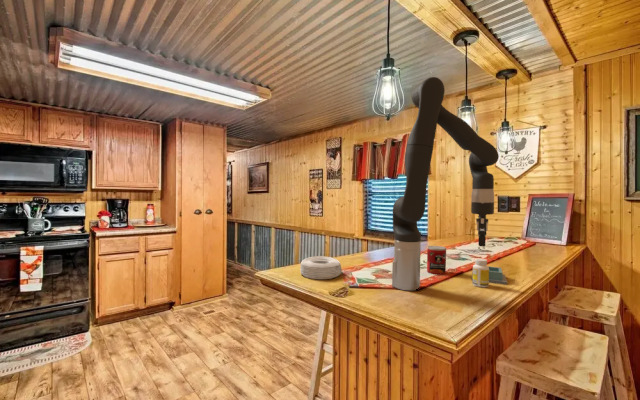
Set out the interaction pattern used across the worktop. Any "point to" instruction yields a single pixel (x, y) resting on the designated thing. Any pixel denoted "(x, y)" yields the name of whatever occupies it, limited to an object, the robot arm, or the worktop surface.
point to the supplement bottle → (480, 273)
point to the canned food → (436, 259)
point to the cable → (320, 267)
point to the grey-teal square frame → (496, 275)
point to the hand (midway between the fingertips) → (481, 244)
